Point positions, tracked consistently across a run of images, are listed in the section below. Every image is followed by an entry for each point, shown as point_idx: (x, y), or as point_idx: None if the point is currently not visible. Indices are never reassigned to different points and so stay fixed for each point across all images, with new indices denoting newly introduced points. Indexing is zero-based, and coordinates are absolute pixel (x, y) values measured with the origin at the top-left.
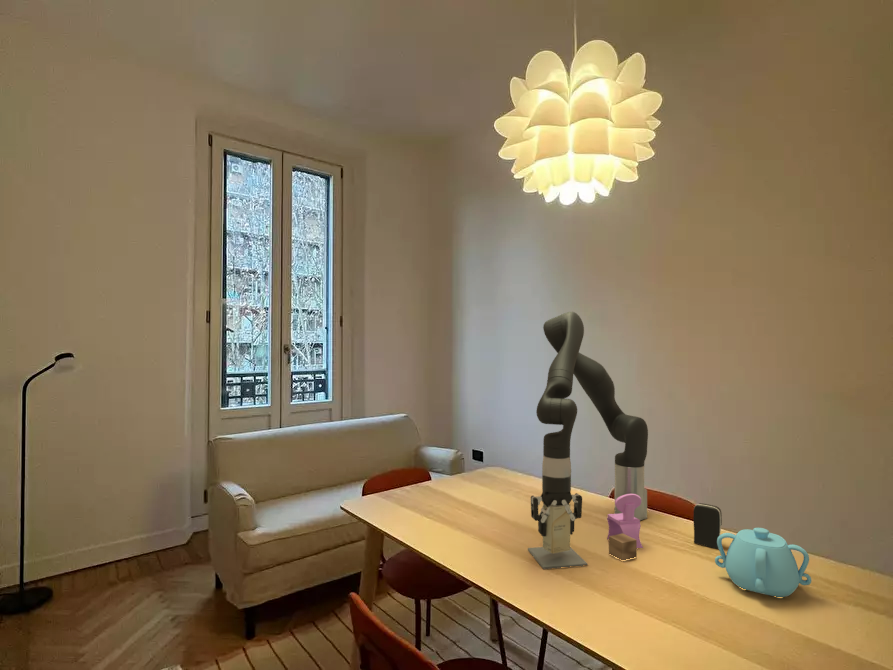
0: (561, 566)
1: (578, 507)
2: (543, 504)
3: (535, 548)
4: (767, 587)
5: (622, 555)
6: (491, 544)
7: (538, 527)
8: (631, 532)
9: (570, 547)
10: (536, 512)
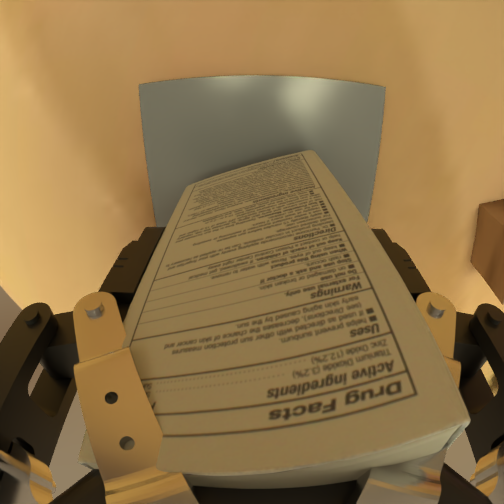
0: None
1: (472, 433)
2: (87, 453)
3: (178, 93)
4: None
5: (481, 274)
6: (14, 36)
7: (114, 267)
8: None
9: (380, 117)
10: (51, 413)
